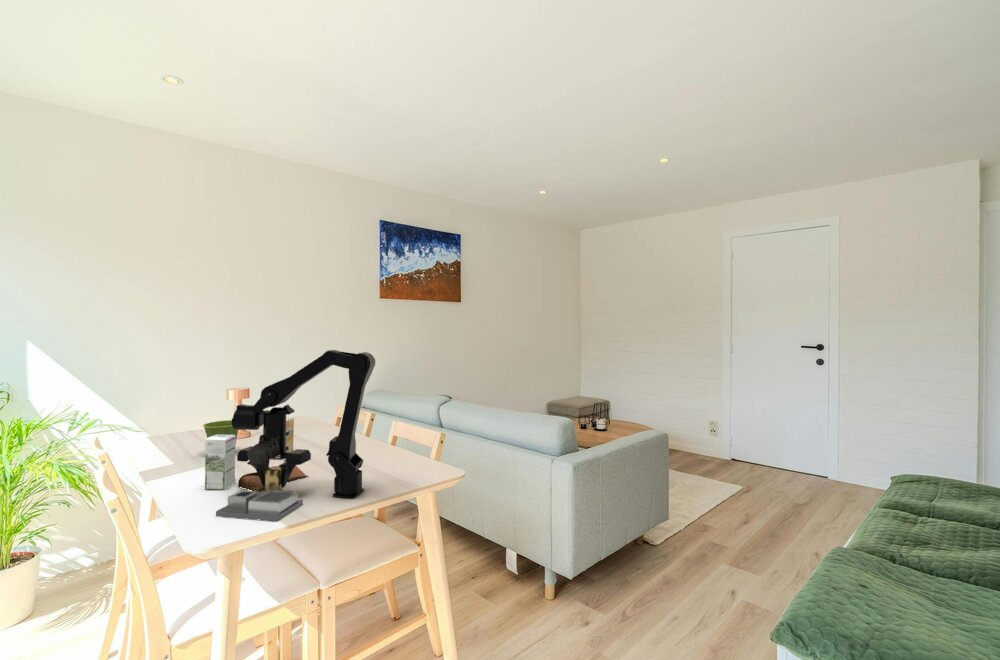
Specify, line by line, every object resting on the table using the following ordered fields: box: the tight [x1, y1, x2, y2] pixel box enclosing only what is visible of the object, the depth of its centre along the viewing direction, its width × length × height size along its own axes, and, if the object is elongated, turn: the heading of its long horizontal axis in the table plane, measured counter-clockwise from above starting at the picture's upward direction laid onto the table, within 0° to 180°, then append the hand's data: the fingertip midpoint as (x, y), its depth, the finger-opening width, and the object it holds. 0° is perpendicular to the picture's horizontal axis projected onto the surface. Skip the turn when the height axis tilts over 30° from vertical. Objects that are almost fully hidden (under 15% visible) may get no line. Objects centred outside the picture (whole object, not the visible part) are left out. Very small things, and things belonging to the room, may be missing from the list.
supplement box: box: [278, 417, 295, 456], centre depth 165 cm, size 8×5×13 cm, turn 178°
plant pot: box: [202, 419, 239, 446], centre depth 166 cm, size 12×12×11 cm
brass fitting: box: [264, 465, 284, 493], centre depth 129 cm, size 4×4×7 cm
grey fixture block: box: [215, 489, 304, 522], centre depth 117 cm, size 16×11×4 cm
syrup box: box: [204, 435, 237, 491], centre depth 133 cm, size 6×6×14 cm
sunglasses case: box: [237, 465, 309, 492], centre depth 139 cm, size 18×7×7 cm, turn 149°
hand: (273, 486), depth 129 cm, fingers open, 5 cm apart
